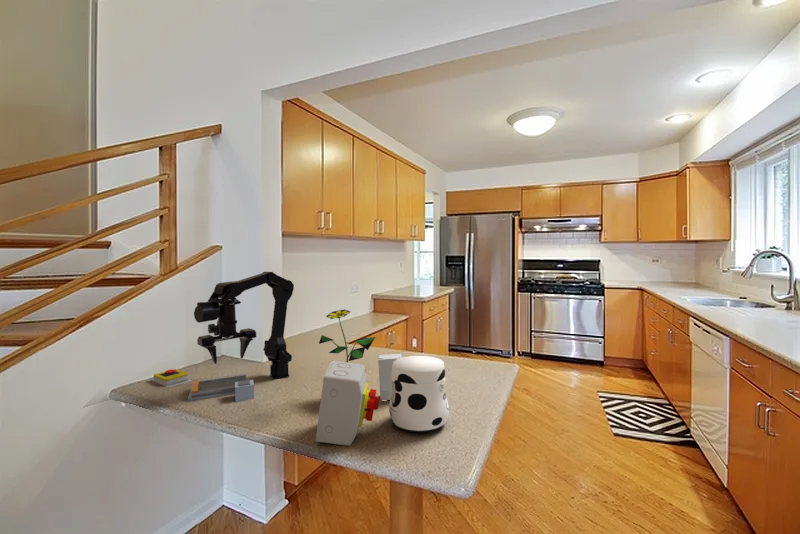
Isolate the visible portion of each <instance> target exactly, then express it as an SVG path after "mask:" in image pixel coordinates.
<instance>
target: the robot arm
mask: <svg viewBox="0 0 800 534" xmlns="http://www.w3.org/2000/svg"><path fill="white" fill-rule="evenodd" d="M265 284H266V285H267V286H268V287H270V288H271V289H272V290H271V291H272V292H271V294H272V297H273V299H274V306H273V314H272V315H273V316H272V325H271V333H270V337H269V338H268V340H267V339H266V340H265V339H264V345H263V346H264V347H263V351H264V355H265V357H266V358H267V360H268V362H271V364H270V365H269V370H270V371H269V372H270V374H269V375H270V377H271V378H272V380H276V379H281V378H283V379H285V378H289V377H290V374H289V362H292V358H293V356H292V354H290V352H288V351H287V343H286V340H285V337H284V336H285V327H286V326H285V325H286V319H287V318H286V317H287V310H288V303H289V300H291V298H292V295H293V293H294V289H295V287H294V283H293V281H291V280H290V279H286V278H284V277H282V276H280V275H278V274H276V273H275V272H274V271H263V272H261V273H258V274H255V275H252V276H249V277H246V278H243V279H240V280H239V279H238V280H234V281H224V282H219V283H217V284H216V285H215V287H214V290H213V292H212V293H211V295H210V297H209V299H208V300H207V301H198V302H196V306H195V308H194V311H193V316H194V317H193V318H194V319H195V321H196V322H197V323H204V322H205V323H206V322H212V321H215V320H217V322H216V325H215V323H210V324H209V323H208V325H207V331H208V333H209V334H205V335H200V336H198V338H197V340H196V341H197V345H198V346H200V347H202V348H204V349H206V350H207V352H209V354H210V355H209V356H210V357H211V359H212V362H213V363H214V364H215V365H216V364H217V361H218V359H217V358H218V357H217V346H216V345H215V343H217V342H222V341H228V340H234V339H238V338H239V342H240V344H239V345H240V347H239V349H240V350H239V351H240V353H239V354H240V358H241V359H243V358H244V356H245V354H246V351H247V348H248V346H249V345H250V343H251V341H253V340H254V339H255V338H257V331H256V330H255V329H253V328H250V327H249V328H248V327H247V328H244V329H240V330H239V332H238V331H237V324H238V320H237V319H236V318H237V317H236V305H240V304H241V303H242V302H241V301H240V300H239V299H237V297H239V296H240V295H241V294H242V293H243V292H245V291H247V290H248V291H249V290H250V289H253V288H256V287H259V286H262V285H265ZM210 334H214V335H210Z"/></svg>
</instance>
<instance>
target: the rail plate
mask: <svg viewBox="0 0 800 534" xmlns="http://www.w3.org/2000/svg"><path fill="white" fill-rule="evenodd" d="M245 380H250V378H249V377H248V378H247V374H246V373H241V374H232V375H226V376H218V377H210V378H203V379H195V380H192V384H191V387H190V390H189V394H188V396H187V402H191V401H198V400H199V401H200V400H205V399H206V400H207V399H212V398H213V399H214V398H217V397H224V396H231V395H235V382H239V381H245Z"/></svg>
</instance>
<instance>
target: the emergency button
mask: <svg viewBox="0 0 800 534" xmlns="http://www.w3.org/2000/svg"><path fill="white" fill-rule="evenodd" d="M151 381H152V382H153V383H156V384H157V385H160V386H163V387H165V388H172V387H176V386H181V385H182V384H183V383H184V384H187V383H190V382H193V379H190V373H189V372H186V371H183V370H181V369H179V368H173V369H172V368H171V369H168V370H165V371H161V372H158V373H154V374H153V379H152V380H151ZM184 384H183V385H184Z"/></svg>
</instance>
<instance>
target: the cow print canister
mask: <svg viewBox="0 0 800 534" xmlns="http://www.w3.org/2000/svg"><path fill="white" fill-rule="evenodd" d="M444 362H445V361H443V360H442V359H440V358H437V357H435V356H434V357H433V356H428V355H426V356H425V355H410V356H404V357H403V356H402V358H399V359H397V360H395V361H394V362H393V365H392V395H391V399H390V401H389V403H388V404H389V405H388V407H389V408H388V410H389V417H390V421H391V422H392V423H393V425H394V426H396V427H397V428H399V429H400V430H403V431H405V432H410V433H429V432H432V431H433V432H434V431H436V430H439V429H440V428H442V427H443V426H444V425H445V424H446V422H447V421H448V418H449V410H450V409H449V408H450V407H449V400H448V398H447V393H446V369H445V363H444Z"/></svg>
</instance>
